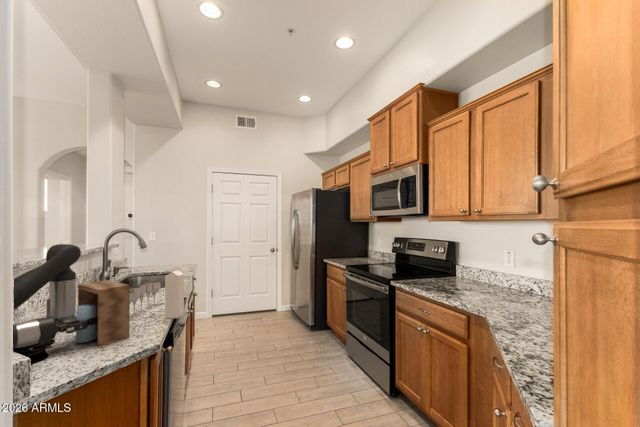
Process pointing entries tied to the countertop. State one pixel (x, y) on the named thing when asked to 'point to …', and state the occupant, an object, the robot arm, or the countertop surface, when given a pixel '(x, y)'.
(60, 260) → the robot arm
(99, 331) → the open wooden box
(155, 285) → the goblet set
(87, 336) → the grey-blue cylinder
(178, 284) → the milk
